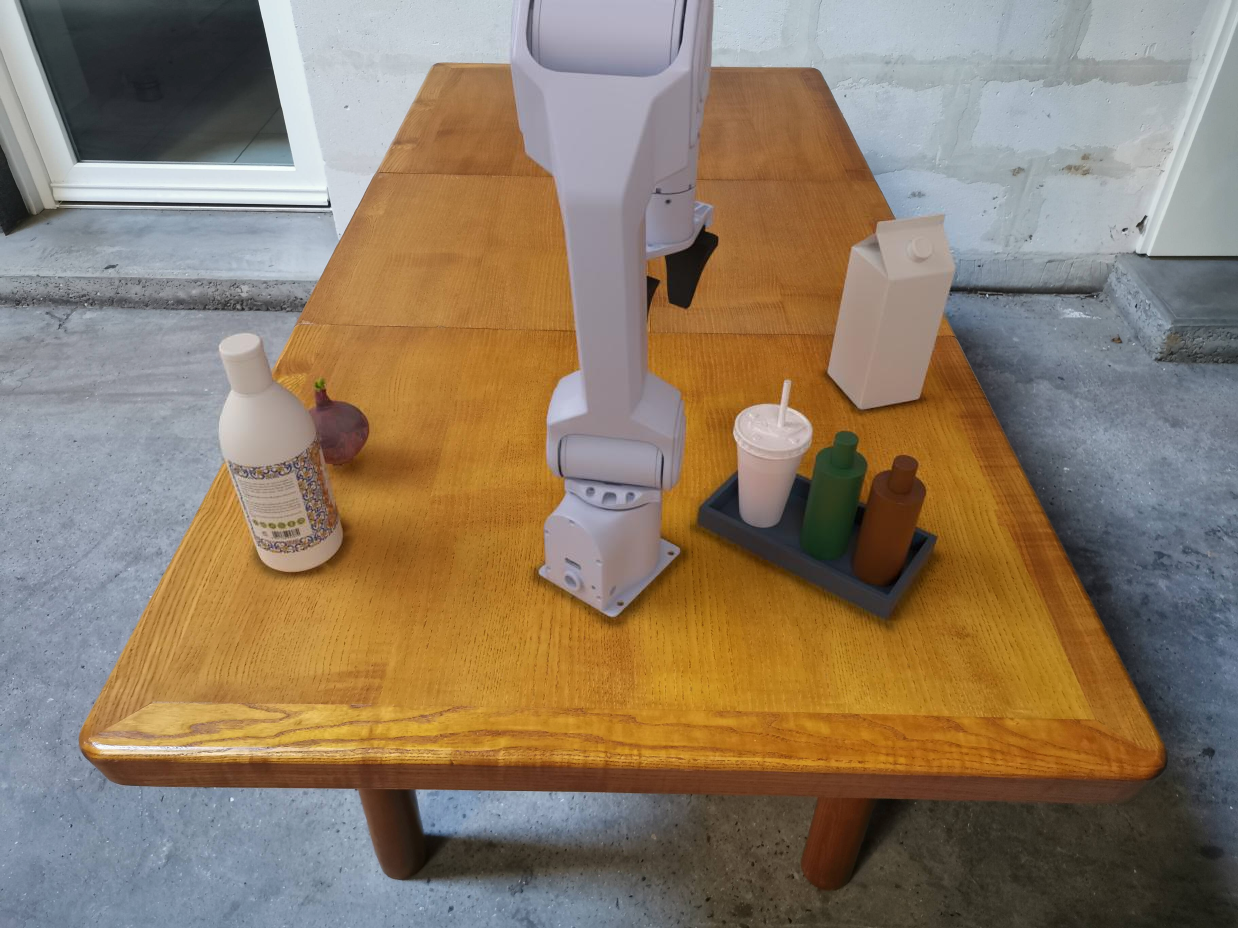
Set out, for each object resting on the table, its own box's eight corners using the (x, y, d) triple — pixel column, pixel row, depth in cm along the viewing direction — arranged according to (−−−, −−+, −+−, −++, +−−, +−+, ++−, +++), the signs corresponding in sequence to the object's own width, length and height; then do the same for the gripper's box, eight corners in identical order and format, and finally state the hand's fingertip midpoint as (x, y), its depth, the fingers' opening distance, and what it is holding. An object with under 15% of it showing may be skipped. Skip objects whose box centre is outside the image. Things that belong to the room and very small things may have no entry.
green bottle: (834, 567, 72) (859, 460, 65) (791, 546, 74) (811, 440, 67) (855, 540, 75) (882, 434, 68) (813, 520, 77) (835, 415, 70)
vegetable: (295, 480, 81) (269, 390, 75) (327, 440, 86) (304, 352, 79) (356, 490, 80) (335, 400, 74) (385, 449, 85) (367, 361, 78)
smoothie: (801, 539, 75) (828, 407, 66) (726, 537, 75) (743, 405, 66) (791, 489, 80) (815, 360, 71) (721, 488, 80) (736, 358, 71)
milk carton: (826, 374, 95) (858, 207, 83) (884, 364, 97) (924, 199, 85) (859, 411, 90) (898, 239, 78) (919, 400, 92) (967, 229, 80)
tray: (885, 624, 69) (892, 602, 67) (696, 527, 77) (698, 506, 75) (931, 557, 74) (938, 536, 73) (750, 474, 82) (753, 453, 81)
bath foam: (354, 556, 73) (302, 353, 61) (269, 586, 71) (196, 380, 58) (332, 507, 78) (279, 309, 65) (251, 533, 75) (179, 332, 63)
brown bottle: (888, 594, 70) (921, 486, 63) (842, 571, 72) (869, 464, 65) (908, 565, 73) (942, 459, 65) (864, 544, 75) (892, 438, 67)
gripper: (672, 146, 81) (665, 279, 90) (571, 196, 72) (575, 339, 81) (738, 164, 78) (724, 300, 86) (641, 219, 69) (637, 365, 77)
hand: (656, 321), depth 83 cm, fingers open, 7 cm apart
